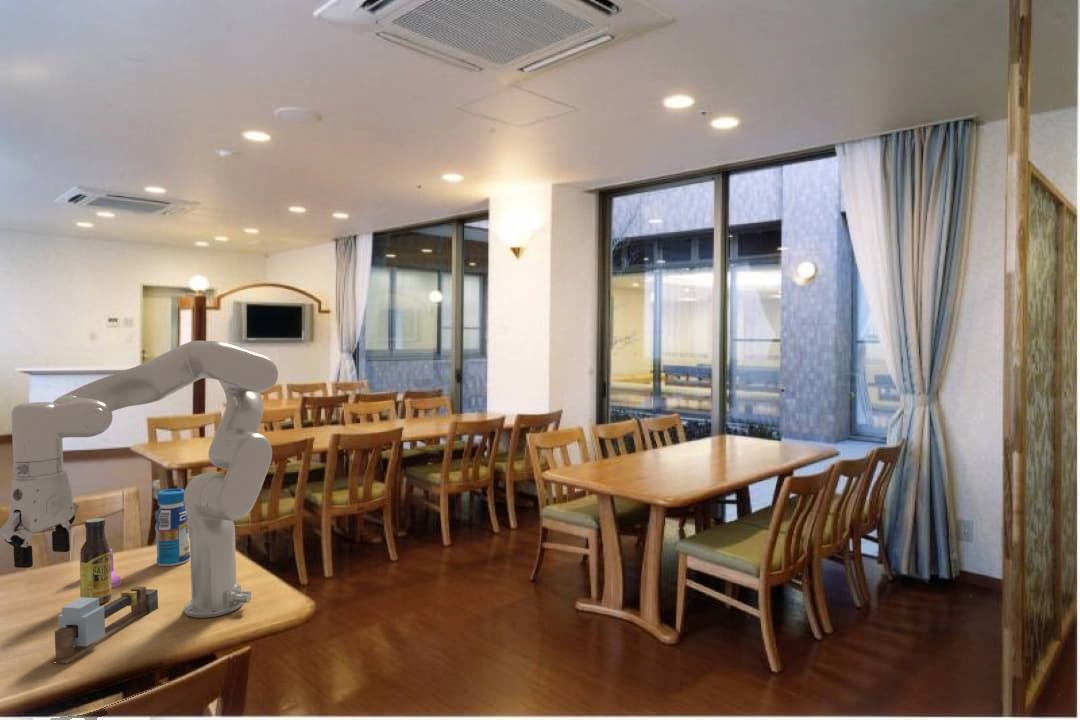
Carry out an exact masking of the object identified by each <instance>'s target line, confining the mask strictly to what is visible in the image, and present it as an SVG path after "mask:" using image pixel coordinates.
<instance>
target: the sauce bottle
mask: <svg viewBox="0 0 1080 720" xmlns="http://www.w3.org/2000/svg"><path fill="white" fill-rule="evenodd" d="M105 525H106V518H104V517H97V518H96V517H94V518H91V519H87V520H85V521H84V527H85V534H86V535H85V541H84V543H83V544H82V547H81V548H80V558H79V559H80V561H79V578H80V579H79V586H80V588H79V589H80V591H79V593H80V596H79V598H81V597H86V598H99V604H100V605H102V604H105V603H107V602H108V601H110V600H111V598H112V588H111V551H110V547H109V544H108V542H107V539H106V534H105V533H106V532H105V527H106V526H105Z"/></svg>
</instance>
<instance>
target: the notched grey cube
mask: <svg viewBox="0 0 1080 720" xmlns="http://www.w3.org/2000/svg"><path fill="white" fill-rule="evenodd" d="M100 605H101V604H99V598H86V597H79V598H77V599H76V600H73V601H71V602H69V603H68V604H66V605H64V606H62V607H61V614H59V615H57V626H58V627H57V628H58V629H57V630H59V629H60V628H66V627H68V626H70V625H78V635H77V636H75V637H74V646H88V645H90V644H91V643H93V642H95V641H96V640H98V639H99V638H101V637H103V636H104V635H105V627H106V621H105V620H106V619H105V617H104V606H100Z"/></svg>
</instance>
